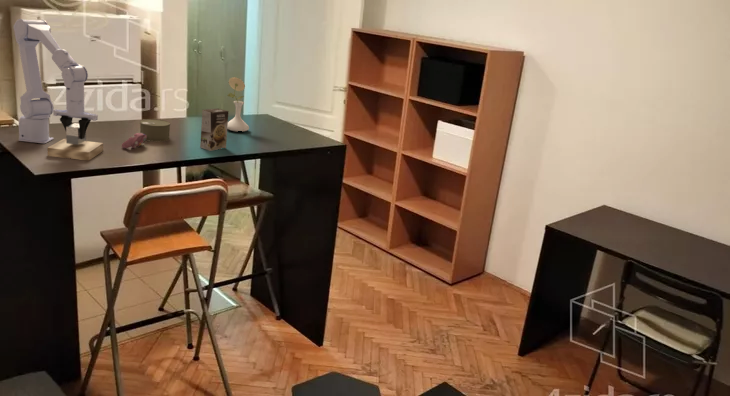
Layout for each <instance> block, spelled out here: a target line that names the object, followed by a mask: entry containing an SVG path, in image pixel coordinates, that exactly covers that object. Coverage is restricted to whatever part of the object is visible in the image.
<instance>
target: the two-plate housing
mask: <svg viewBox="0 0 730 396" xmlns="http://www.w3.org/2000/svg"><path fill="white" fill-rule="evenodd" d="M65 133H66V134H65V135H66V138H65V139H66V142H67V143H68V144H77V145H78V144H80V143H82V142H84V141H87V132H86V133H85V138H83V139H80V126H79V122H74V123H72V124H71V125H69V126H67V127H66V131H65Z"/></svg>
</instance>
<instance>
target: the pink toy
mask: <svg viewBox="0 0 730 396" xmlns="http://www.w3.org/2000/svg"><path fill="white" fill-rule="evenodd" d="M146 138H147V136H146V135H145V134H142V133H140V132H137V133H134V134H133V135H132V136H130V137H129V138H128V139H126V140H125V141H124V142H122V143H121V148H123V149H129V148H132V149H135V148H136V147H138V148H139V147H140V146H142V144H143V143H144V142H145V141H146Z"/></svg>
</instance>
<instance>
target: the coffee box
mask: <svg viewBox="0 0 730 396" xmlns="http://www.w3.org/2000/svg"><path fill="white" fill-rule="evenodd" d="M228 122H229V110H226V109H221V108H207V109H202V112H201V126H200V127H201V129H200V142H199V143H200V146H199V148H201V149H203V150H206V151H209V152H211V151H218V149H219V150H222V149H221V148H225V149H226V148H227V140H228V129H227V126H228Z"/></svg>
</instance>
